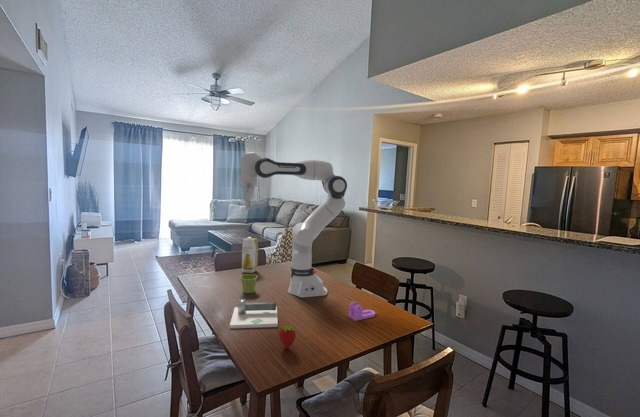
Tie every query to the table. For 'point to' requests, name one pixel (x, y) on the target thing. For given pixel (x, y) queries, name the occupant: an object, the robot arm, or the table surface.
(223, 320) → the table surface
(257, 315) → the dial board
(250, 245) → the juice carton
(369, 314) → the bracket
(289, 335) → the strawberry
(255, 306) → the grey lever handle
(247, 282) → the plant pot
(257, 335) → the table surface
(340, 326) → the table surface
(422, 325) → the table surface
